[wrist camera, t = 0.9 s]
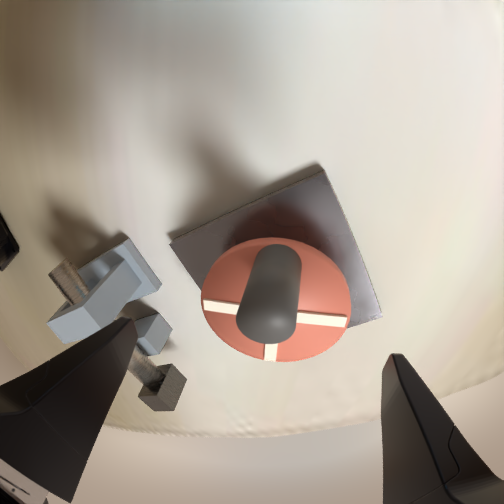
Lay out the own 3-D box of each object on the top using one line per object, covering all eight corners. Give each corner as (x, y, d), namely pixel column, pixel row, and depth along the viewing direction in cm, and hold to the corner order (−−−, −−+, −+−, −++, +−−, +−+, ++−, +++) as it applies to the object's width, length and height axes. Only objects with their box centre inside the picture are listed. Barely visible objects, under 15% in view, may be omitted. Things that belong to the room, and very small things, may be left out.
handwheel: (334, 346, 19) (333, 423, 14) (214, 331, 20) (186, 401, 15) (361, 235, 15) (381, 311, 10) (206, 219, 16) (158, 284, 11)
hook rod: (167, 381, 23) (154, 411, 21) (64, 259, 19) (37, 284, 16) (187, 379, 22) (173, 410, 20) (79, 248, 18) (49, 274, 15)
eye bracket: (133, 339, 25) (103, 389, 20) (77, 269, 22) (34, 313, 17) (192, 324, 22) (163, 385, 17) (129, 237, 19) (77, 289, 14)
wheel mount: (250, 348, 22) (247, 359, 21) (173, 239, 19) (165, 249, 18) (381, 310, 18) (383, 323, 17) (324, 170, 15) (325, 176, 14)
